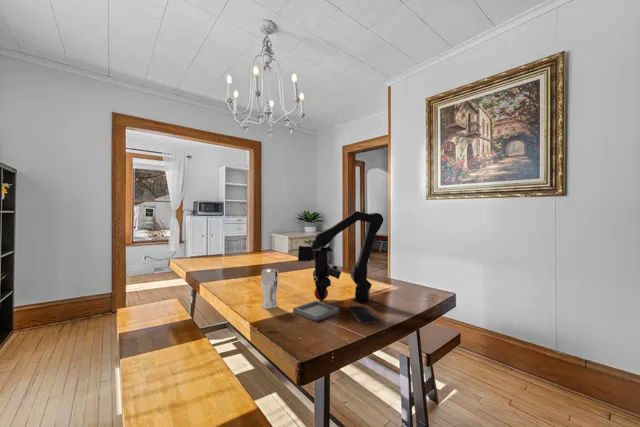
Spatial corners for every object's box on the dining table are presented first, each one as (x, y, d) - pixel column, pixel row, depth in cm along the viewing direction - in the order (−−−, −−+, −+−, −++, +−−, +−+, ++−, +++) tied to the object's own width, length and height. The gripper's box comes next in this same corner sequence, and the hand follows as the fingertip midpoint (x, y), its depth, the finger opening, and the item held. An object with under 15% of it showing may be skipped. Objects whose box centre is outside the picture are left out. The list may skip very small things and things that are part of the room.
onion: (323, 304, 118) (323, 285, 118) (311, 302, 121) (312, 283, 121) (330, 300, 123) (330, 282, 123) (319, 298, 126) (319, 280, 126)
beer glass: (274, 310, 110) (274, 272, 110) (258, 308, 112) (258, 271, 112) (280, 304, 117) (280, 268, 117) (265, 303, 119) (265, 268, 118)
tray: (316, 304, 117) (316, 300, 117) (338, 312, 108) (339, 308, 108) (293, 312, 108) (293, 307, 108) (315, 321, 99) (316, 316, 99)
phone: (364, 306, 114) (381, 319, 100) (364, 308, 114) (381, 323, 100) (346, 307, 112) (360, 321, 98) (346, 310, 112) (360, 325, 98)
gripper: (343, 265, 113) (342, 303, 113) (336, 257, 132) (336, 290, 132) (315, 265, 112) (315, 304, 112) (313, 257, 131) (312, 291, 131)
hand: (321, 297), depth 122 cm, fingers open, 7 cm apart
